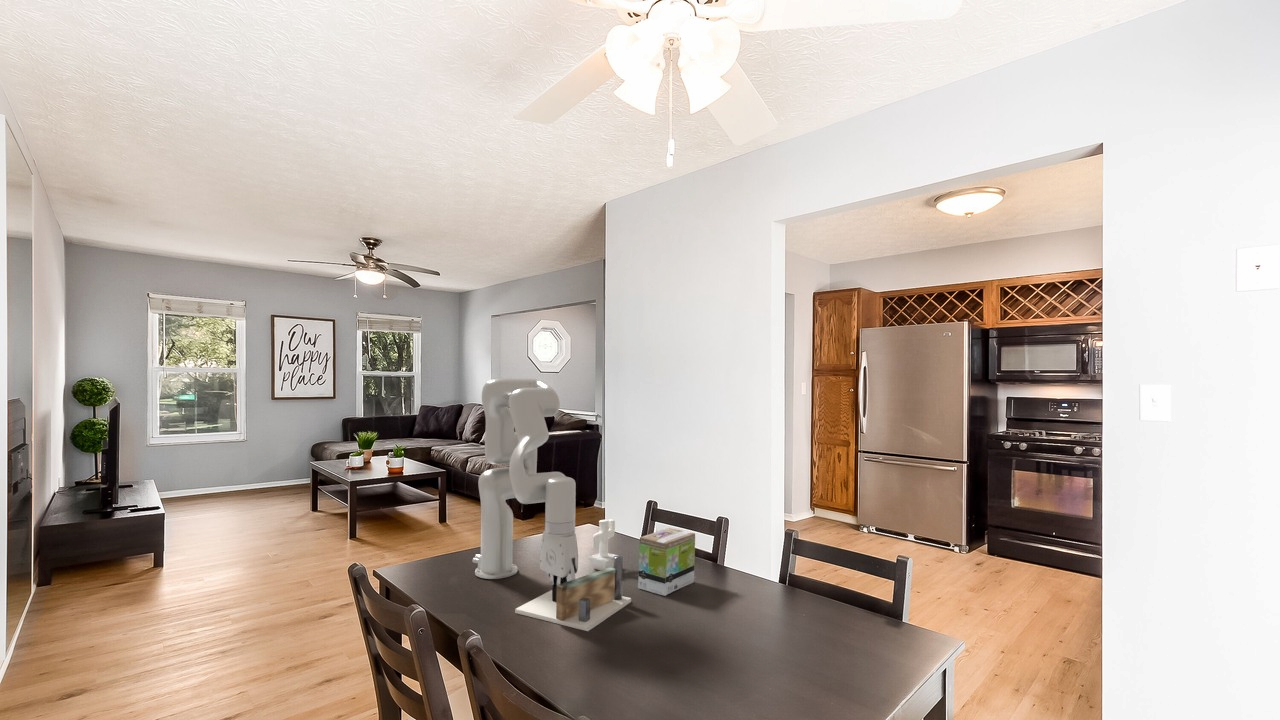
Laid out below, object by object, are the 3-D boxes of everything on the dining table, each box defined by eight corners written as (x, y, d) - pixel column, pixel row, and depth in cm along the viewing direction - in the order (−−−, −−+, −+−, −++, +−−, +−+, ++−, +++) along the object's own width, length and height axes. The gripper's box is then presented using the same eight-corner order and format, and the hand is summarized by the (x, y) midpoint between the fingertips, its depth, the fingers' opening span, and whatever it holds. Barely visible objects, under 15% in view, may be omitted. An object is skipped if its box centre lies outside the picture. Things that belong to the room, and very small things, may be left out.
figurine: (584, 569, 185) (585, 521, 185) (603, 562, 192) (604, 515, 193) (603, 574, 180) (603, 524, 181) (621, 566, 188) (622, 518, 189)
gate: (609, 597, 158) (610, 567, 158) (615, 599, 156) (615, 569, 157) (556, 618, 144) (556, 585, 144) (561, 620, 142) (562, 587, 143)
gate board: (515, 612, 151) (515, 608, 151) (563, 587, 169) (563, 583, 169) (587, 631, 140) (587, 627, 140) (630, 601, 159) (631, 598, 159)
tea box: (666, 597, 162) (666, 543, 163) (637, 589, 169) (637, 536, 169) (695, 582, 174) (695, 531, 175) (667, 575, 180) (667, 526, 181)
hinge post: (577, 624, 144) (578, 574, 144) (615, 599, 160) (616, 555, 160) (586, 626, 143) (586, 576, 143) (623, 601, 159) (624, 556, 159)
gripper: (529, 524, 151) (528, 597, 151) (568, 535, 141) (567, 613, 141) (552, 519, 157) (551, 589, 156) (591, 529, 147) (590, 604, 146)
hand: (559, 600), depth 149 cm, fingers closed
